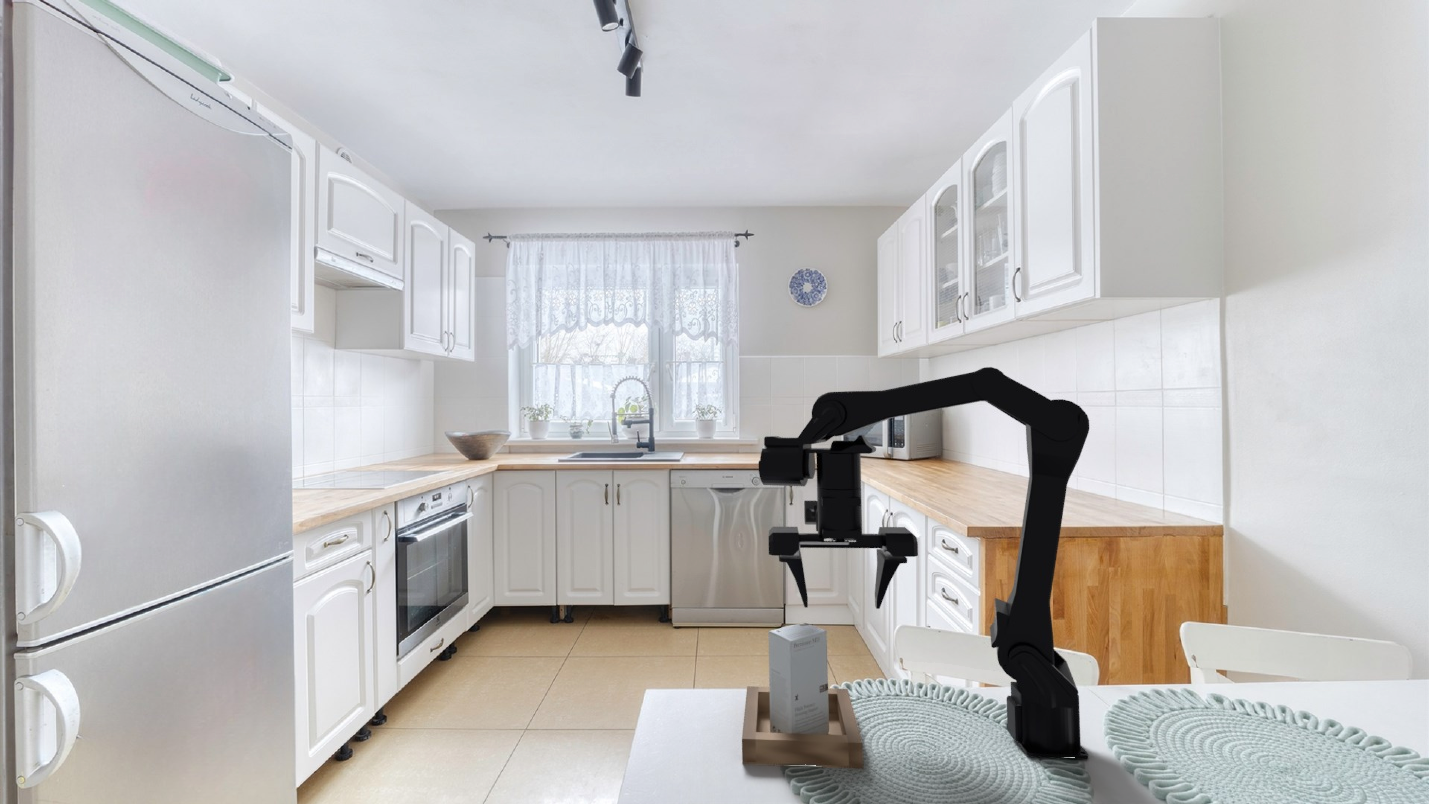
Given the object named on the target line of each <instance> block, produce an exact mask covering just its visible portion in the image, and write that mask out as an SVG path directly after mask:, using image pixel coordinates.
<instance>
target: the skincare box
mask: <svg viewBox="0 0 1429 804" xmlns="http://www.w3.org/2000/svg"><path fill="white" fill-rule="evenodd" d="M827 634H828V633H827V630H825V629H823V628H821V627H818V626H815V625H813V624H809V623H806V622H801V623H796V624H792V625H786V626H782V627H781V628H777V629H776V628H775V629H772V630H769V631H768V668H769V669H768V674H769V676H768V679H769V680H768V681H769V684H768V685H769V686H768V687H769V690H770V732H771V733H796V734H827V733H828V732H829V704H828V688H829V676H828V674H829V670H828V669H829V668H828V640H827V638H828V636H827Z"/></svg>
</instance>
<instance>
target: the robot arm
mask: <svg viewBox="0 0 1429 804" xmlns="http://www.w3.org/2000/svg"><path fill="white" fill-rule="evenodd" d="M978 402H985V403H987V404H989V405H991V406H992V407H994V408H996V409H997V410H999V411H1000V412H1002V413H1003V414H1005V415H1007V416H1009V417H1010V418H1012V419H1013V420H1015V421H1017V422H1018V423H1020V424H1021V425H1023V426H1025V436H1026V437H1025V439H1026V452H1027V460H1028V461H1027V463H1028V472H1029V474H1028V475H1029V477H1028V483H1027V491H1026V496H1025V503H1024V510H1023V517H1022V518H1023V519H1022V526H1021V532H1020V540H1019V545H1018V554H1017V559H1016V566H1015V567H1016V568H1015V572H1014V573H1015V574H1014V581H1013V586H1012V589H1011V592H1010V594H1009V596H1008V598H1007V600H1006V601H1004V600H1002V599H999V598H998V597H995V598H994V612H995V613H994V619H993V622H992V623H991V625H990V627H989V633H990V634H989V635H990V645H991V649H992V648H993V649H995V648H996V656H997V657H996V658H997V661H998V665H999V666H1000V668H1001V669H1002V670H1003V672H1004V673H1005V674H1006V675H1007V676H1009V677H1010V678H1011V679H1013V680H1015V681H1011V682H1010V695H1007V696H1006V722H1007V723H1006V727H1005V728H1006V730H1007V732H1008V733H1009V735H1010V736H1011V737H1012V738H1013V739H1014V741H1015V742H1016V743H1017V744H1018V746H1019V748H1021V750H1022V751H1023V752H1024V753H1025V755H1026V756H1027V757H1030V758H1046V759H1048V758H1049V759H1062V758H1061V757H1075V758H1076V759H1077V760H1088V759H1089V752H1087V751H1086V749H1085V748H1084V747H1083V746H1082V745H1081V744H1082V743H1081V742H1082V741H1081V717H1080V716H1081V715H1080V696H1079V690H1078V687H1077V685H1076V682H1075V679H1074V676H1073V675H1072V671H1071V669H1070V667H1069V664H1068V661H1067V660H1066V659H1065V658H1064V657H1063V656H1062V655H1061V654H1060V653H1059V652H1058V651H1057V650H1056V649H1055V643H1054V633H1053V623H1052V621H1053V619H1052V611H1051V596H1052V590H1053V582H1054V576H1055V569H1056V562H1057V558H1058V557H1057V555H1058V549H1059V542H1060V536H1061V530H1062V529H1061V528H1062V524H1063V523H1062V521H1063V514H1064V508H1065V501H1066V496H1067V495H1066V494H1067V489H1068V483H1069V482H1070V481H1069V480H1070V478H1071V476H1072V475H1073V471H1074V470H1075V467H1076V465H1078V464H1077V463H1078V461H1079V459H1080V457H1081V454H1082V451H1083V448H1084V445H1085V444H1086V443H1085V442H1086V440H1087V437H1088V435H1089V432H1090V419H1089V417H1088V414H1087V413H1086V411H1084V409H1083V408H1082V407H1081V406H1080V405H1078V404H1077V403H1075V402H1074V401H1070V400H1067V399H1058V398H1057V399H1049V398H1048V397H1046V396H1045V395H1043V394H1041V393H1039V392H1038V391H1035V390H1033V389H1031V388H1030V387H1028V386H1026V385H1024V384H1022V383H1020V382H1019V381H1016V380H1014V379H1012V378H1011V377H1009V376H1007V375H1006V374H1004V372H1002V371H1001V370H1000V369H999V368H995V367H992V366H987V367H982V368H979V369H978V370H976V371H975V370H974V371H972V372H967V373H963V374H957V375H952V376H946V377H941V378H938V379H934V380H933V379H932V380H927V381H922V382H918V383H913V384H908V385H904V386H899V387H894V388H889V389H884V390H857V391H855V390H853V391H852V390H851V391H847V390H846V391H829V392H825V393H824V394H821V395H820V396H818V397H817V399H816V401H815V402H814V404H813V406H812V409H811V418H810V419H809V421H808V422H807V424H806V425H805V426H804V428H803V430H802V431H801V432H800V434H799V436H797V437H783V436H777V435H769V436H768V435H767V436H765V437H764V438H763V444H764V445H763V447H762V449H761V452H760V457H759V458H760V459H759V461H758V474H759V479H760V482H761V484H762V485H764V486H777V487H778V486H779V487H783V486H784V487H785V486H786V487H806V485H807V483H808V481H809V480H813V479H814V477H815V475H816V499H817V500H804V502H803V503H804V504H803V509H804V510H803V512H804V513H803V514H804V515H803V516H804V518H803V519H804V524H805V525H806V526H807V525H813V526H814V525H815V530H816V532H817V533H815V532H814V533H812V532H811V533H805V532H803V533H800V532H799V528H798V526H772V527H771V528H770V529H769V530H768V555H770V556H775V557H776V556H778V561H779V563H786V564H787V566H788V567H789V569H790V572H791V574H792V576H793V578H794V580H795V583H796V586H797V588H798V591H799V595H800V597H801V600H802V603H803V606H804V607H803V608H808V605H809V601H808V591H807V584H806V579H805V577H806V576H805V571H804V570H805V569H804V563H803V559H802V552H801V548H803V549H804V548H805V549H811V548H812V549H876V573H875V587H874V606H875V609H876V610H880V608H881V606H882V603H883V601H884V598H885V596H886V593H887V590H888V588H889V585H890V582H891V581H892V579H893V577H894V575H895V574H896V572H897V570H898V568H899V566H900V565H901V564H908V558H909V557H910V558H911V557H917V556H918V557H919V547H918V545H919V544H918V538H917V536H915V534H914V533H913V532H911V530H909V529H908V528H907V527H905V526H895V527H894V526H879V528H878V532H877V533H863V513H862V512H863V510H862V509H863V506H862V504H863V503H862V467H861V465H862V464H861V463H862V461H861V457H862V456H861V455H862V454H866V455H867V454H873V453H876V451H877V447H876V446H874V445H873V444H872V443H871V442H870V441H869V440H868V439H867V437H866V436H865V435H864V434H859V435H858V436H857V437H856V439H854V440H832V442H831V444H830V447H829V448H827V447H825V448H823V447H822V448H821V447H819V448H818V447H812V445H814V444H821V443H825V442H828V441H829V440H831V439H832V438H833V437H840V436H847V435H850V434H853V433H856V432H859V431H861V430H864V429H866V428H869V427H872V426H874V425H877V424H879V423H882V422H885V421H888V420H889V419H894V418H898V417H903V416H904V417H906V416H909V415H916V414H920V413H925V412H931V411H937V410H941V409H942V410H943V409H947V408H953V407H957V406H963V405H964V406H965V405H968V404H973V403H978ZM815 454H816V455H815ZM815 456H816V457H815ZM815 473H816V474H815ZM827 539H830V540H828V541H827ZM1076 759H1075V760H1076Z"/></svg>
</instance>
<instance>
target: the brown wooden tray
mask: <svg viewBox="0 0 1429 804" xmlns="http://www.w3.org/2000/svg"><path fill="white" fill-rule="evenodd" d="M745 693H746V694H745V703H744V704H745V705H744V706H745V707H744V713H743V715H744V716H743V723H742V724H743V726H742V734H741V735H742V736H741V750H742V752H741V760H742V762H741V763H742V765H757V766H780V767H781V766H783V767H785V766H784V765H805V764H806V765H816V766H822V767H821V768H826V769H827V768H828V769H829V768H831V769H832V768H833V769H855V770H856V769H857V770H864V754H863V753H864V751H863V750H864V749H863V740H862V736H861V733H860V728H859V725H858V723H857V718H856V715H855V711H854V708H853V707H854V706H853V704H852V700H851V697H850V693H849V689H848V688H829V687H828V704H829V732H828V733H827V734H796V733H771V732H770V690H769V686H754V685H753V686H749V685H748V686H746V692H745Z"/></svg>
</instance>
